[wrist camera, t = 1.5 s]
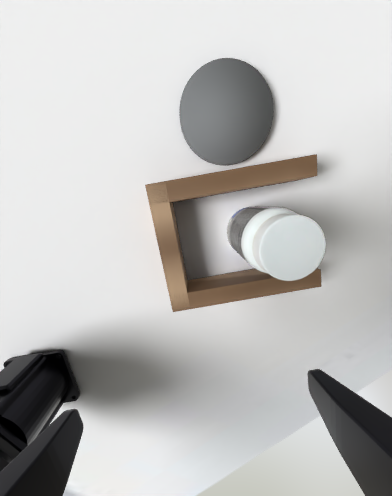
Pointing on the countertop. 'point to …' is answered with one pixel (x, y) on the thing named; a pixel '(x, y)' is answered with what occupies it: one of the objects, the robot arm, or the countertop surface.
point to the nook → (229, 284)
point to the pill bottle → (277, 241)
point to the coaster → (226, 111)
